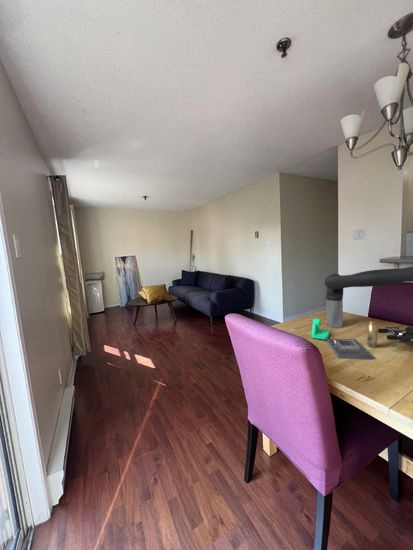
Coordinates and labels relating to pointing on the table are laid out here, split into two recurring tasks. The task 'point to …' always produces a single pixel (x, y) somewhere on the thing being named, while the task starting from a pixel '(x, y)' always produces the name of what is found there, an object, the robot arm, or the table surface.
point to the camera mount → (319, 330)
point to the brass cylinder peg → (372, 334)
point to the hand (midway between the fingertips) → (382, 334)
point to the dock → (348, 349)
